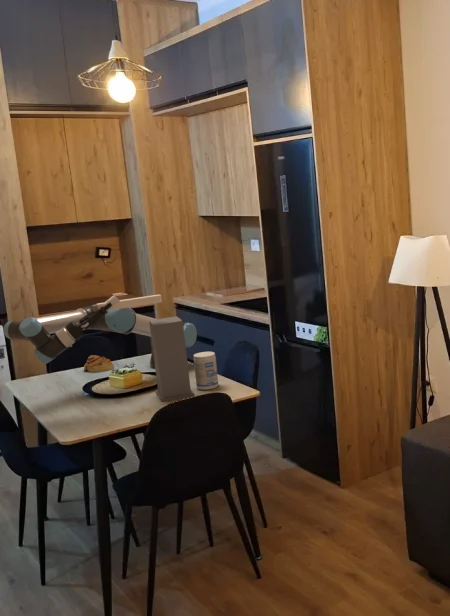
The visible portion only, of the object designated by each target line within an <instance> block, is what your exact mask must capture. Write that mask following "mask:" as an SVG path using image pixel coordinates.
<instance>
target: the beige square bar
mask: <svg viewBox="0 0 450 616" xmlns="http://www.w3.org/2000/svg"><path fill="white" fill-rule="evenodd" d="M104 302H105V303H107V302H106V301H104ZM104 302H100V303H96V304H92V306H93V311H94V312H96V311H97V310H99V309H100V308H101V307H103V305H104V304H105V303H104ZM160 303H161V304H162V303H163V299H162V295H161V294H154V295H145V296H140V297H133V298H127V299H119V302H118V303H117V304H116V305H114V306H113V307H112V308H110V309H109V310H115V309H122V308H128V307H129V308H135V307H140V306H147V305H155V304H160Z"/></svg>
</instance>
